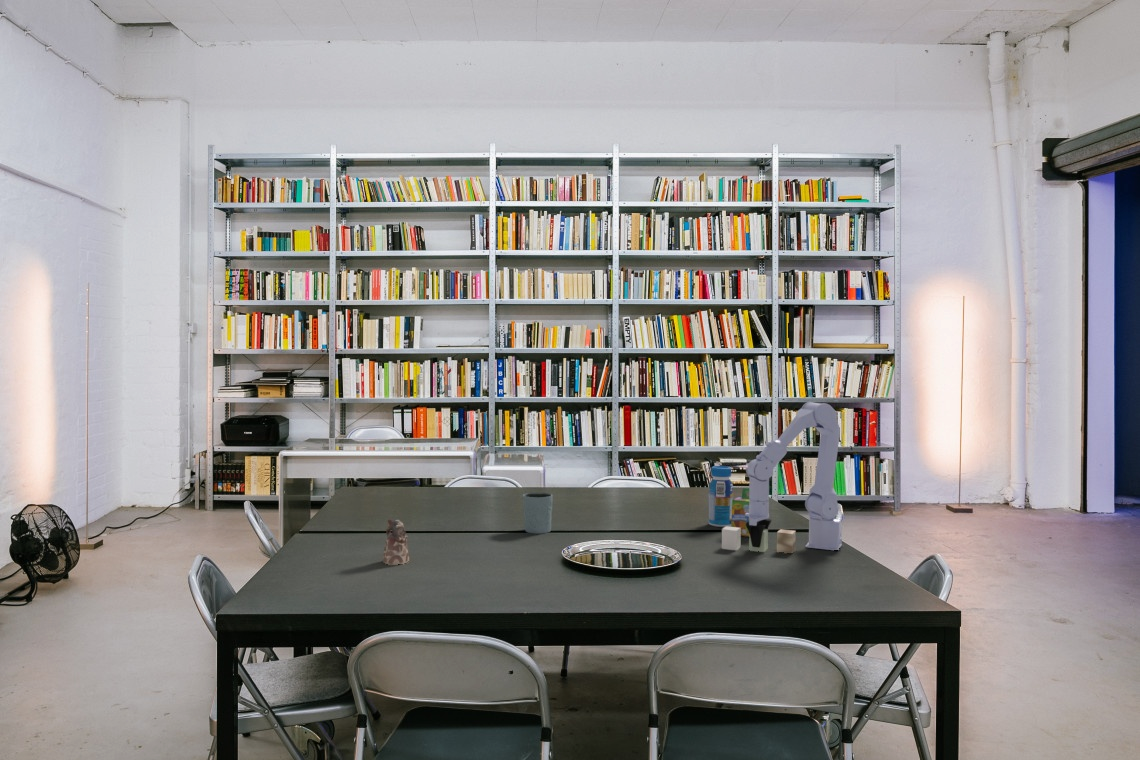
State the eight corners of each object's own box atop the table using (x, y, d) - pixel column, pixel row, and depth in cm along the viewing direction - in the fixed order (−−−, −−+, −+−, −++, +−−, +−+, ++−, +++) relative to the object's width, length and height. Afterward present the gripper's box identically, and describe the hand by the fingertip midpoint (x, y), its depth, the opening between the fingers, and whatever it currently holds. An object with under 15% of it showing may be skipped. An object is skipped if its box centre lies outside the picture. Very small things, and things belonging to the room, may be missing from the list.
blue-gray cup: (540, 535, 247) (541, 498, 247) (516, 531, 253) (516, 495, 252) (558, 529, 255) (558, 493, 255) (534, 525, 261) (534, 490, 261)
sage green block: (767, 549, 231) (767, 529, 231) (764, 552, 227) (764, 532, 227) (752, 547, 233) (753, 527, 233) (749, 550, 229) (749, 530, 229)
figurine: (396, 566, 209) (396, 523, 209) (377, 563, 213) (377, 520, 213) (414, 561, 215) (414, 518, 215) (395, 557, 219) (395, 515, 219)
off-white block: (740, 547, 233) (740, 527, 233) (736, 550, 229) (736, 530, 229) (726, 545, 235) (726, 526, 235) (721, 548, 231) (721, 529, 231)
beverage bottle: (703, 524, 265) (703, 466, 264) (719, 521, 270) (720, 464, 269) (721, 528, 258) (722, 469, 257) (738, 525, 263) (738, 467, 262)
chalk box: (730, 535, 248) (731, 490, 248) (738, 529, 257) (738, 485, 256) (759, 538, 244) (759, 492, 244) (765, 532, 252) (766, 488, 252)
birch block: (795, 550, 229) (795, 530, 229) (792, 554, 225) (792, 533, 225) (780, 549, 231) (780, 529, 231) (776, 552, 227) (777, 532, 227)
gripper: (751, 494, 238) (751, 538, 238) (739, 502, 225) (738, 548, 225) (774, 496, 234) (774, 540, 235) (763, 504, 222) (762, 551, 222)
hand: (758, 544), depth 230 cm, fingers open, 5 cm apart
